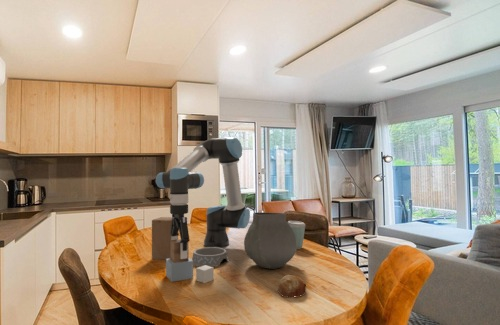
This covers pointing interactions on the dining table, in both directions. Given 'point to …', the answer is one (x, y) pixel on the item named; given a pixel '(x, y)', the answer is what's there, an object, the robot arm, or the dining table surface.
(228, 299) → the dining table surface
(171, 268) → the slate block
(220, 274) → the dining table surface
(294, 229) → the disposable coffee cup
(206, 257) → the dog bowl
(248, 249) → the ceramic pot
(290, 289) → the bread roll
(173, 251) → the walnut block
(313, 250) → the dining table surface
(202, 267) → the grey cube
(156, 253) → the wooden block
